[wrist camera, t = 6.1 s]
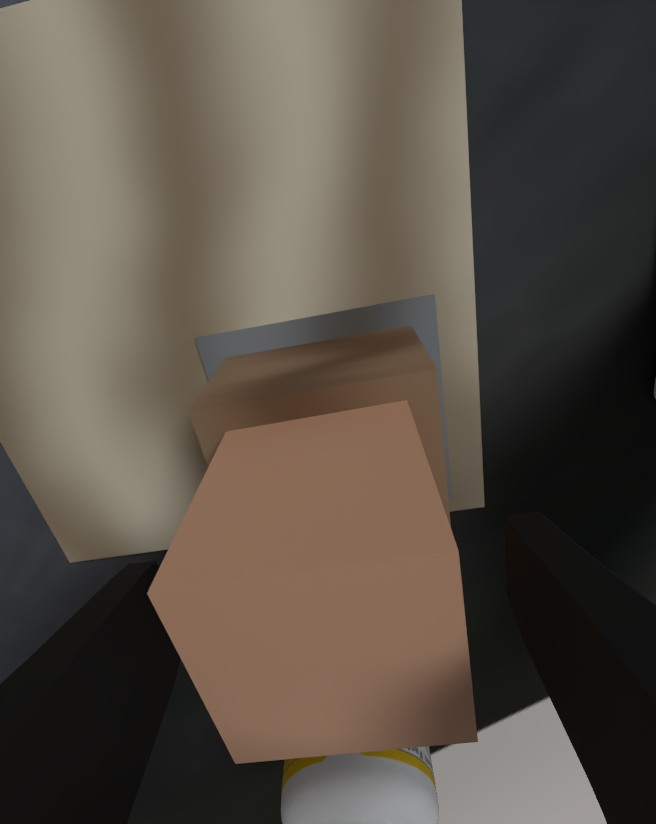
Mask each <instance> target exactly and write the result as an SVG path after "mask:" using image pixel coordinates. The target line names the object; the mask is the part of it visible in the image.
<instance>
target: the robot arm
mask: <svg viewBox="0 0 656 824" xmlns="http://www.w3.org/2000/svg"><path fill="white" fill-rule="evenodd" d="M654 397H655V399H656V379H655V386H654ZM506 560H507V593H508V596H509V599H510V602H511V605H512V608H513V611H514V614H515V617H516V619H517V622H518V625H519V628H520V631H521V634H522V636H523V639H524V642H525V645H526V647H527V649H528V651H529V653H530V656H531V658H532V660H533V662H534V664H535V666H536V669H537V671H538V673H539V675H540V677H541V679H542V681H543V684H544V686H545V688H546V690H547V692H548V694H549V696H550V699H551V701H552V703H553V705H554V707H555V709H556V711H557V713H558V715H559V718H560V720H561V722H562V724H563V726H564V728H565V730H566V732H567V735H568V736H569V739H570V741H571V743H572V745H573V747H574V749H575V751H576V753H577V756H578V758H579V760H580V762H581V764H582V766H583V769H584V771H585V773H586V775H587V777H588V779H589V782H590V784H591V786H592V788H593V791H594V793H595V795H596V798H597V800H598V802H599V805H600V807H601V809H602V811H603V814H604V817H605V819H606V822H607V824H656V605H655V604H653V603H652V602H651V601H649V600H648V599H647V598H645V597H644V596H643V595H641V594H640V593H639V592H638V591H636V590H635V589H634V588H632V587H631V586H630V585H628V584H627V583H626V582H625V581H623V580H622V579H621V578H619V577H618V576H617V575H615V574H614V573H613V572H612V571H610V570H609V569H608V568H607V567H605V566H604V565H603V564H602V563H600V562H599V561H598V560H597V559H595V558H594V557H593V556H592V555H591V554H589V553H588V552H587V551H586V550H584V549H583V548H582V547H581V546H580V545H578V544H577V543H576V542H575V541H574V540H572V539H571V538H570V537H569V536H568V535H566V534H565V533H564V532H563V531H562V530H560V529H559V528H558V527H557V526H556V525H554V524H553V523H552V522H551V521H550V520H548V519H547V518H546V517H545V516H544V515H542V514H541V513H540V512H530V513H522V514H515V515H507V516H506ZM158 570H159V568H158V566H157V564H156V562H155V561H152V562H144V563H136V564H129V565H127V566H126V567H125V568H124V569H122V570H121V571H120V572H119V573H118V574H117V575H116V576H115V577H113V578H112V579H111V580H110V581H109V582H108V583H107V584H106V585H105V586H104V587H103V588H102V589H101V590H100V591H99V592H98V593H96V594H95V595H94V596H93V597H92V598H91V599H90V600H89V601H88V602H87V603H86V604H85V605H84V606H83V607H82V608H81V609H80V610H79V611H78V612H77V613H76V614H75V615H74V616H73V617H72V618H71V619H70V620H68V621H67V622H66V623H65V624H64V625H63V626H62V627H61V628H60V629H59V630H58V631H57V632H56V633H55V634H54V635H53V636H52V637H51V638H50V639H49V640H48V641H47V642H45V643H44V644H43V645H42V646H41V647H40V648H39V649H38V650H37V651H36V652H35V653H34V654H33V655H32V656H31V657H30V658H29V659H28V660H26V661H25V662H24V663H23V664H22V665H21V666H20V667H19V668H18V669H17V670H15V671H14V672H13V673H12V674H11V675H10V676H9V677H8V678H7V679H5V680H4V681H3V682H2V683H1V684H0V824H127V821H128V818H129V815H130V811H131V808H132V806H133V803H134V800H135V797H136V794H137V791H138V788H139V785H140V782H141V779H142V777H143V774H144V771H145V768H146V765H147V762H148V759H149V756H150V753H151V750H152V747H153V745H154V742H155V739H156V736H157V733H158V730H159V727H160V724H161V721H162V718H163V715H164V712H165V709H166V706H167V703H168V701H169V698H170V695H171V692H172V688H173V685H174V682H175V679H176V675H177V670H178V666H179V662H180V656H179V654H178V652H177V650H176V648H175V647H174V645H173V643H172V641H171V639H170V637H169V635H168V633H167V631H166V629H165V627H164V625H163V623H162V621H161V620H160V618H159V616H158V614H157V612H156V610H155V608H154V606H153V604H152V602H151V600H150V598H149V596H148V595H147V592H148V590H149V588H150V586H151V584H152V582H153V580H154V578H155V576H156V574H157V572H158Z"/></svg>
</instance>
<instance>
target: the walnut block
mask: <svg viewBox="0 0 656 824" xmlns="http://www.w3.org/2000/svg"><path fill="white" fill-rule="evenodd" d="M405 400H407V402H408V404H409V407H410V410H411V413H412V416H413V419H414V422H415V425H416V428H417V431H418V434H419V437H420V440H421V443H422V445H423V448H424V451H425V454H426V457H427V460H428V463H429V466H430V469H431V472H432V475H433V478H434V481H435V483H436V486H437V489H438V492H439V495H440V498H441V501H442V504H443V507H444V510H445V513H446V516H447V519H448V522H449V524H450V527H451V523H450V511H449V500H448V488H447V477H446V466H445V454H444V443H443V431H442V420H441V409H440V397H439V386H438V374H437V369H436V367H435V365H434V363H433V362H432V360H431V358H430V356H429V355H428V353H427V351H426V350H425V348H424V346H423V344H422V343H421V341H420V339H419V338H418V336H417V334H416V332H415V331H414V329H413V327H412V325H409V326H403V327H397V328H392V329H386V330H380V331H375V332H369V333H363V334H358V335H352V336H346V337H341V338H335V339H329V340H324V341H318V342H312V343H307V344H301V345H296V346H290V347H284V348H279V349H273V350H267V351H262V352H256V353H250V354H245V355H239V356H233V357H228V358H225V360H224V361H223V362H222V364H221V365H220V367H219V368H218V369H217V371H216V372H215V374H214V375H213V376H212V378H211V379H210V381H209V382H208V384H207V385H206V386H205V388H204V389H203V391H202V392H201V393H200V395H199V396H198V398H197V399H196V400H195V402H194V403H193V405H192V406H191V407H190V409H189V410H188V412H189V415H190V418H191V421H192V424H193V426H194V429H195V432H196V435H197V438H198V440H199V443H200V446H201V449H202V451H203V454H204V457H205V460H206V463H207V465H208V467H209V465H210V463H211V461H212V459H213V457H214V455H215V452H216V450H217V448H218V446H219V444H220V442H221V440H222V438H223V436H224V434H225V432H227V431H233V430H238V429H244V428H250V427H256V426H261V425H267V424H273V423H279V422H284V421H290V420H296V419H302V418H307V417H313V416H319V415H325V414H330V413H336V412H342V411H348V410H353V409H359V408H365V407H371V406H376V405H382V404H388V403H394V402H399V401H405Z"/></svg>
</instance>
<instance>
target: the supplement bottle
mask: <svg viewBox="0 0 656 824" xmlns="http://www.w3.org/2000/svg"><path fill="white" fill-rule="evenodd" d="M281 818H282V824H438V819H439V808H438V801H437V792H436V786H435V780H434V774H433V769H432V762H431V757H430V751H429V746H425V747H414V748H403V749H392V750H381V751H370V752H360V753H349V754H338V755H327V756H316V757H305V758H294V759H285V761H284V773H283V782H282V795H281Z"/></svg>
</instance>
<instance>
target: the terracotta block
mask: <svg viewBox="0 0 656 824" xmlns="http://www.w3.org/2000/svg"><path fill="white" fill-rule="evenodd" d="M147 595H148V596H149V598H150V600H151V602H152V604H153V606H154V608H155V610H156V612H157V614H158V616H159V618H160V620H161V621H162V623H163V625H164V627H165V629H166V631H167V633H168V635H169V637H170V639H171V641H172V643H173V645H174V647H175V648H176V650H177V652H178V654H179V656H180V658H181V660H182V662H183V664H184V666H185V668H186V670H187V672H188V673H189V675H190V677H191V679H192V681H193V683H194V685H195V687H196V689H197V691H198V693H199V695H200V697H201V698H202V700H203V702H204V704H205V706H206V708H207V710H208V712H209V714H210V716H211V718H212V720H213V722H214V724H215V725H216V727H217V729H218V731H219V733H220V735H221V737H222V739H223V741H224V743H225V745H226V747H227V749H228V750H229V752H230V754H231V756H232V758H233V760H234V762H235V764H239V763H250V762H261V761H272V760H283V759H294V758H305V757H316V756H327V755H338V754H349V753H360V752H370V751H381V750H392V749H403V748H414V747H425V746H436V745H447V744H458V743H469V742H477V741H478V739H477V729H476V719H475V709H474V699H473V689H472V679H471V670H470V660H469V650H468V640H467V630H466V620H465V610H464V600H463V590H462V580H461V570H460V561H459V551H458V548H457V545H456V542H455V539H454V536H453V533H452V530H451V527H450V524H449V522H448V519H447V516H446V513H445V510H444V507H443V504H442V501H441V498H440V495H439V492H438V489H437V486H436V483H435V481H434V478H433V475H432V472H431V469H430V466H429V463H428V460H427V457H426V454H425V451H424V448H423V445H422V443H421V440H420V437H419V434H418V431H417V428H416V425H415V422H414V419H413V416H412V413H411V410H410V407H409V404H408V402H407V400H405V401H399V402H394V403H388V404H382V405H376V406H371V407H365V408H359V409H353V410H348V411H342V412H336V413H330V414H325V415H319V416H313V417H307V418H302V419H296V420H290V421H284V422H279V423H273V424H267V425H261V426H256V427H250V428H244V429H238V430H233V431H227V432H225V434H224V436H223V438H222V440H221V442H220V444H219V446H218V448H217V450H216V452H215V455H214V457H213V459H212V461H211V463H210V465H209V467H208V469H207V471H206V473H205V475H204V477H203V479H202V481H201V483H200V485H199V487H198V489H197V492H196V494H195V496H194V498H193V500H192V502H191V504H190V506H189V508H188V510H187V512H186V514H185V516H184V518H183V520H182V522H181V524H180V526H179V529H178V531H177V533H176V535H175V537H174V539H173V541H172V543H171V545H170V547H169V549H168V551H167V553H166V555H165V557H164V559H163V561H162V563H161V566H160V568H159V570H158V572H157V574H156V576H155V578H154V580H153V582H152V584H151V586H150V588H149V590H148V592H147Z"/></svg>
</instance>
